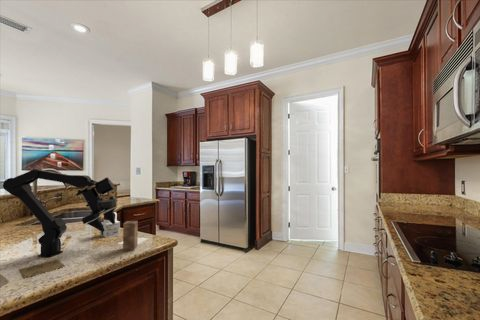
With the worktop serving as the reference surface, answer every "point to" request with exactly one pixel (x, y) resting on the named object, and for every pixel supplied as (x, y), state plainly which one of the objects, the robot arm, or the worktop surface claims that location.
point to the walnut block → (130, 235)
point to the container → (110, 227)
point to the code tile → (137, 241)
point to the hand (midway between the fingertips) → (109, 227)
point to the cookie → (41, 268)
